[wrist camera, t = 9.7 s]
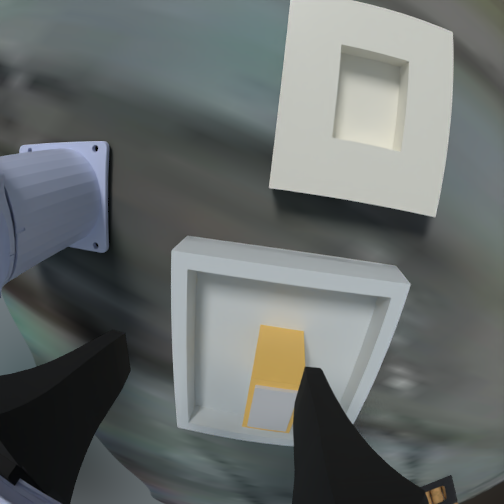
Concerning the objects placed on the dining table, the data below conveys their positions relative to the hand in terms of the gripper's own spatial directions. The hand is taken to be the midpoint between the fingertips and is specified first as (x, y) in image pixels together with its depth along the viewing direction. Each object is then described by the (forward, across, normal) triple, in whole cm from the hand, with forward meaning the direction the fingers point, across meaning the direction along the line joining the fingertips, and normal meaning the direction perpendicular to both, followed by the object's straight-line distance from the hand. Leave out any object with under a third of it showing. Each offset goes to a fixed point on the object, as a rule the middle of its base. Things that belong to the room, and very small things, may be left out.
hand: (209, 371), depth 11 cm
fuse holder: (+10, -6, -12) cm, 17 cm away
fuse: (+9, -3, +6) cm, 11 cm away
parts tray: (+10, -3, +6) cm, 12 cm away
